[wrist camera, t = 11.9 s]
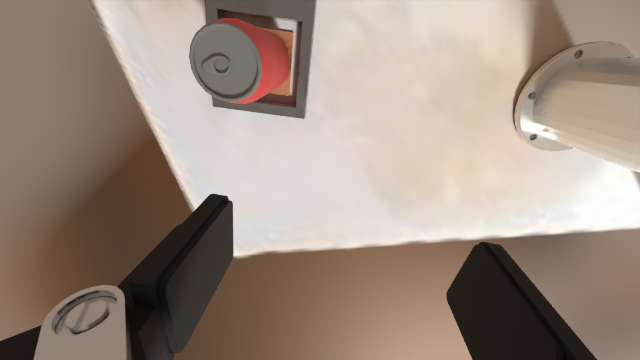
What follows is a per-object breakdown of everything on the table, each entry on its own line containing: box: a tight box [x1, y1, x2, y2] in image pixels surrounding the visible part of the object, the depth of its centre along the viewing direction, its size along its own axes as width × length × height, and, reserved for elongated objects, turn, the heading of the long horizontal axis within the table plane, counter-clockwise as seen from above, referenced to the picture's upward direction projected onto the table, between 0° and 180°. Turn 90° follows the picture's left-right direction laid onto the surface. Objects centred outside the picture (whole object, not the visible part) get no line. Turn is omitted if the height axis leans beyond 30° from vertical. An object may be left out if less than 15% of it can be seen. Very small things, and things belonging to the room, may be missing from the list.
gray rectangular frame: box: [205, 0, 317, 119], centre depth 26 cm, size 12×23×2 cm, turn 173°
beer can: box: [189, 18, 290, 104], centre depth 24 cm, size 7×7×12 cm
